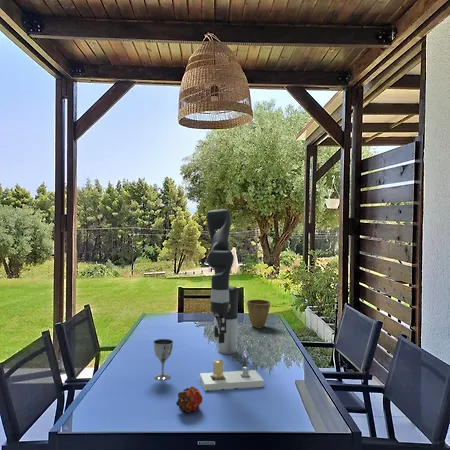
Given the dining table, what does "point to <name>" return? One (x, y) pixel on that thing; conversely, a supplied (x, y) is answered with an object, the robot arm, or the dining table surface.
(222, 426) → the dining table surface
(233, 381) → the plate
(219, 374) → the cylinder
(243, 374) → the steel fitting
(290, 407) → the dining table surface
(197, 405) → the dragon fruit
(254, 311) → the plant pot
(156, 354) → the wine glass
